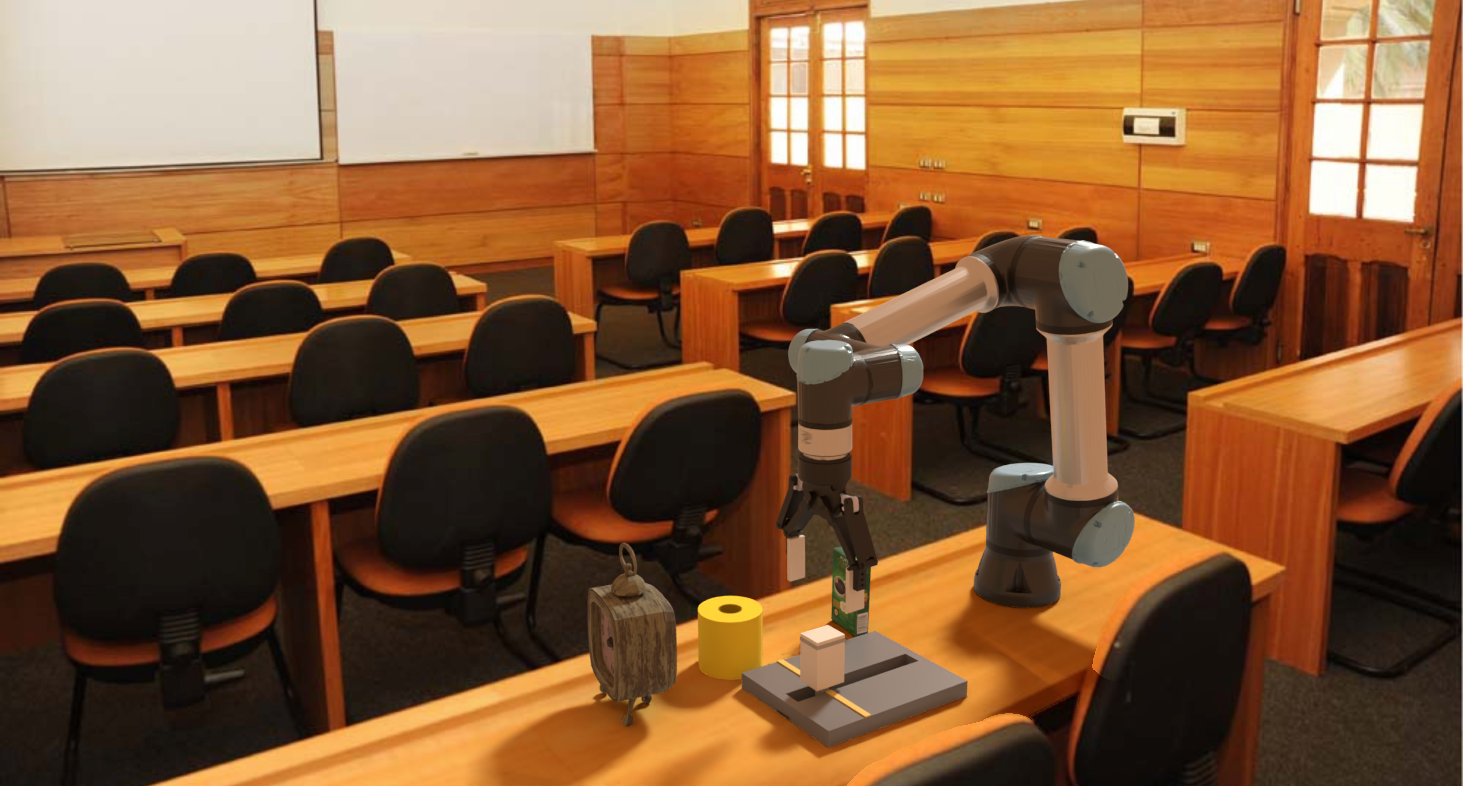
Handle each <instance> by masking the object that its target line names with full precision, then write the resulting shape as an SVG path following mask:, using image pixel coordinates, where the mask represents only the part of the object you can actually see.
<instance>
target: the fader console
mask: <svg viewBox="0 0 1463 786" xmlns="http://www.w3.org/2000/svg"><path fill="white" fill-rule="evenodd" d="M968 683H969V682H968V680H966V679H965V678H963V677H962V676H959V674H956V673H954V672H952V671H950V670H948V669H947V668H945V667H943V666H941V665H939V664H937V663H936V662H934V661H931V660H930V659H928V658H926V657H924V656H922V655H921V654H918V653H917V652H915V651H913V650H911V649H909V648H907V647H906V646H904V645H902V644H900V643H898V642H897V641H895V640H892V639H891V638H889V637H887V636H886V635H883V634H882V633H880V632H878V631H876V630H874V631H871V632H868V633H867V634H864V635H860V636H857V637H855V636H853V637H852V638H849V639H845V661H844V682H843V683H840V684H837V685H834V686H831V687H829V690H828V691H826V693H823V694H820V695H817V696H815V690H814V689H813V688H811V687H809V686H808V685H806V684H805V683H803V682H802V681H800V654H797V655H795V656H791V657H788V658H785V659H783V658H781V659H777V660H776V662H772V663H769V664H765V665H763V666H762V667H759V668H756V669H753V670H749V671H746V672H743V673H742V679H741V689H742V690H744V691H745V692H747V694H749V695H750V696H753V697H754V698H755V699H757V700H758V701H759V702H761V703H762V704H764V705H765V706H767V707H769V709H772V710H773V711H774V712H776V713H777V714H779V715H780V716H782V717H783V718H785V719H786V720H787V721H789V722H790V723H792V724H793V725H795V726H796V727H798V728H800V729H801V730H802V731H804V732H805V733H807V734H808V735H810V736H811V737H812V738H814V739H815V740H817V741H818V742H819V743H821V744H823V745H824V746H825V747H826V748H827V749H828V748H831V747H833V746H837V745H840V744H842V743H845V742H847V741H850V740H852V739H855V738H858V737H861V736H864V735H866V734H869V733H872V732H874V731H877V730H880V729H883V728H885V727H888V726H891V725H893V724H896V723H899V722H901V721H904V720H907V719H910V718H912V717H916V716H917V715H920V714H923V713H927V712H929V711H931V710H933V709H936V708H940V707H942V706H944V705H948V704H951V703H952V702H955V701H958V700H960V699H963V698H967V697H968Z"/></svg>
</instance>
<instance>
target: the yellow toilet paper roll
mask: <svg viewBox="0 0 1463 786" xmlns="http://www.w3.org/2000/svg"><path fill="white" fill-rule="evenodd" d="M763 608H764V607H763V606H762V605H761V603H760V602H758V601H757V600H755V599H752V598H749V597H745V596H739V595H723V596H722V595H721V596H716V597H711V598H709V599H708V598H707V599H706V600H705V601H702V602H701V603H700V604H699V605H698V607H697V639H698V640H697V643H698V645H697V647H698V648H697V650H698V653H697V654H698V658H697V659H698V668H699V670H700V671H701V672H702V674H705V675H707V676H708V677H711V678H715V679H717V680H718V679H719V680H731V681H732V680H734V681H735V680H742V673H743V672H746V671H749V670H753V669H756V668H759V667H762V666H764V664H763V663H764V662H763V658H764V657H763V655H764V654H763V648H764V647H763V646H764V645H763V644H764V643H763V640H764V639H763V637H764V636H763V629H764V628H763V627H764V625H763V622H764V620H763V617H764V616H763V615H764V613H763V612H764V611H763Z"/></svg>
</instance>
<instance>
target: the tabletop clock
mask: <svg viewBox="0 0 1463 786" xmlns="http://www.w3.org/2000/svg"><path fill="white" fill-rule="evenodd" d="M624 549H626V551H627V552H628V554H629V555H630V557H631V561H632V564H633V568H632V564H631V563H630V562H628V563H626V561H625V559H624V556H623V551H624ZM618 554H619V555H618V556H619V560H620V564H621V567H622V569H623V570H624V573H622V574H620V575H618V576H617V577H616V578H614V580H613V581H612V584H608V585H603V586H602V585H601V586H595V587H589V588H588V589H587V599H586V600H587V602H586V603H587V608H586V609H587V614H586V615H587V639H588V641H587V642H588V652H589V660H590V666H591V669H592V672H593V674H594V676H595V678H596V680H597V681H598V683H599V684H600V685H599V691H600V692H601V693H603V694H606V695H607V696H608V697H609V698H610V699H611V700H612V701H613V702H615V703H619V702H624V701H628V704H627V705H628V706H627V713H626V714H625V715H624V716H622V719H621V720H622V724H623V725H624V726H625V727H630V726H632V725H633V723H634V717H633V715H632V713H633V709H634V706H635V702H636V701H637V699H639V698H641V702H642V703H643V704H649V703H651V701H652V700H653V695H654V696H655V695H658V694H663V693H666V692H667V691H668V690H669V689H671V688H672V687H673V686H674V685H675V684H676V682H677V674H678V642H677V640H678V639H677V637H678V636H677V622H676V614H675V610H674V609H673V606H672V605H671V603H670V602H669V600H668V599H667V598H665V596H664V595H663V593H662V592H660V591H659V590H658V589H657V588H656V587H655V586H654V585H652V584H649V583H647V582H645V580H644V579H643V577H641V576H640V575H638V574H637V573H638V564H637V563H638V562H637V557H636V554H635V551H634V549H633V548H632V547H631V546H630V544H629V543H626V542H622V543H621V544H620V545H619V548H618ZM632 570H633V571H632Z"/></svg>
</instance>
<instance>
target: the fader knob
mask: <svg viewBox="0 0 1463 786" xmlns="http://www.w3.org/2000/svg"><path fill="white" fill-rule="evenodd" d="M845 640H846V633H843V632H841V631H839V630H838V629H836V628H834V627H832V626H831V625H829V624H826V625H823V626H821V627H817V628H813V629H811V630H806V631H803V632H800V636H799V641H800V646H799V647H800V654H799V655H800V681H802V682H803V683H805V684H806V685H808V686H809V687H811V688H813V689H814V690H815V696H817V695H820V694H823V693H826V691H828V690H829V687H831V686H834V685H837V684H840V683H843V682H844V661H845Z"/></svg>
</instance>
